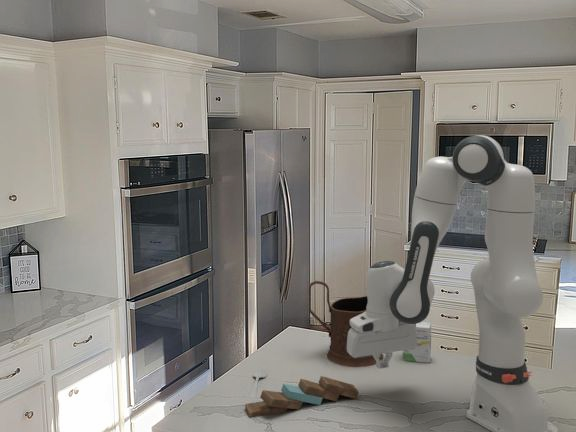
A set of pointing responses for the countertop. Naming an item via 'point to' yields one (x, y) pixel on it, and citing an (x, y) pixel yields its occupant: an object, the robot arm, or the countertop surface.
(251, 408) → the domino
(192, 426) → the countertop surface
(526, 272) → the robot arm
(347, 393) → the domino
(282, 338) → the countertop surface
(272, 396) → the domino
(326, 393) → the domino
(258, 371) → the spoon
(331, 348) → the brown pitcher
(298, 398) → the domino
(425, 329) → the ink box
